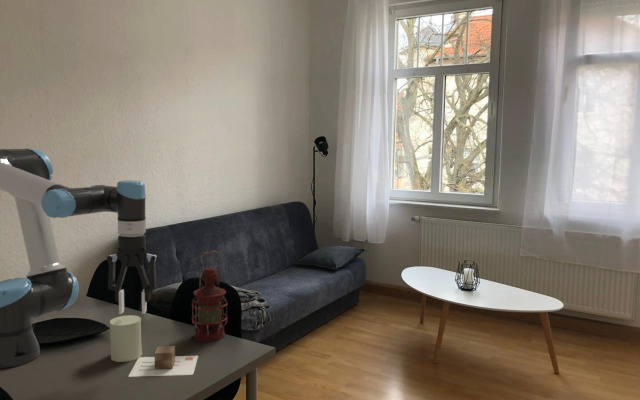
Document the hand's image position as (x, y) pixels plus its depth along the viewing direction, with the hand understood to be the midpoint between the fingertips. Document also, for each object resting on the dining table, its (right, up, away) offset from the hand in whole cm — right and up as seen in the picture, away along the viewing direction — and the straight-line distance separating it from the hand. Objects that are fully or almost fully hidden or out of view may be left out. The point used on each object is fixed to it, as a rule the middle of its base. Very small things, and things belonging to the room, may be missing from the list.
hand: (133, 312), depth 146 cm
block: (+8, -17, +3) cm, 19 cm away
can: (-5, -16, +9) cm, 19 cm away
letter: (+8, -17, +3) cm, 19 cm away
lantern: (+16, -15, +27) cm, 35 cm away
